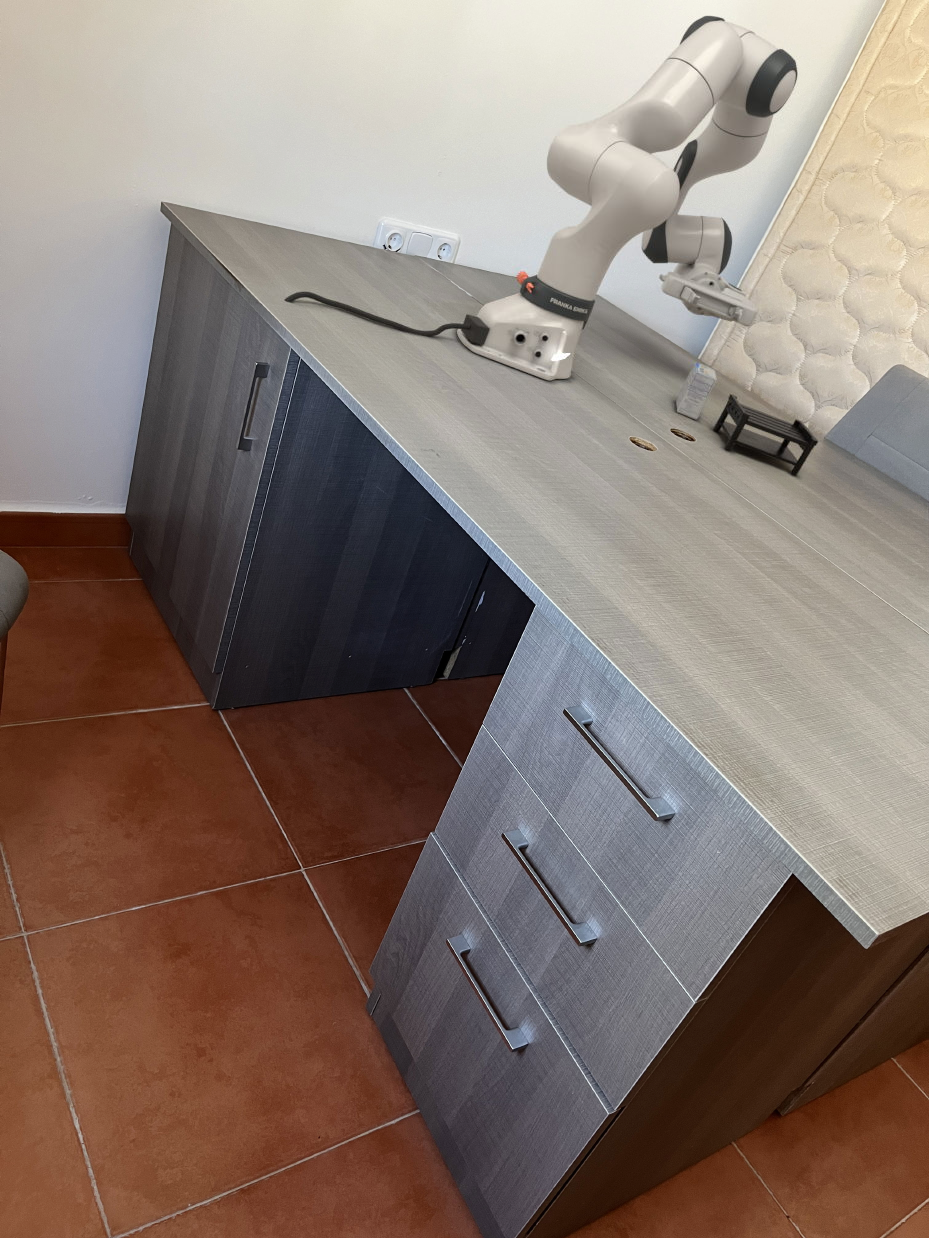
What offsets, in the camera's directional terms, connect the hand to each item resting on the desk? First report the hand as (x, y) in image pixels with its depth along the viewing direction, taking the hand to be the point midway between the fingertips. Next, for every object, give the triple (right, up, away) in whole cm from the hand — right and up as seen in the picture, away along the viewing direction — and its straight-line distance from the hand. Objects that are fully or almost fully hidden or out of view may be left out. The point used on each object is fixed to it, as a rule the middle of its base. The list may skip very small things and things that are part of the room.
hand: (716, 308), depth 185 cm
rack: (+5, -30, -9) cm, 32 cm away
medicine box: (-6, -21, -1) cm, 22 cm away
